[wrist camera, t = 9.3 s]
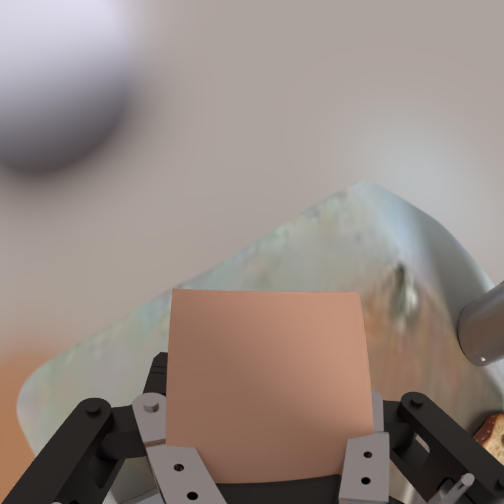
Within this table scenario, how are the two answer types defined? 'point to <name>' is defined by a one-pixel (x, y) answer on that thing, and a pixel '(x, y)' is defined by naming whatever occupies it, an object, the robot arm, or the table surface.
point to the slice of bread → (493, 436)
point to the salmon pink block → (267, 382)
